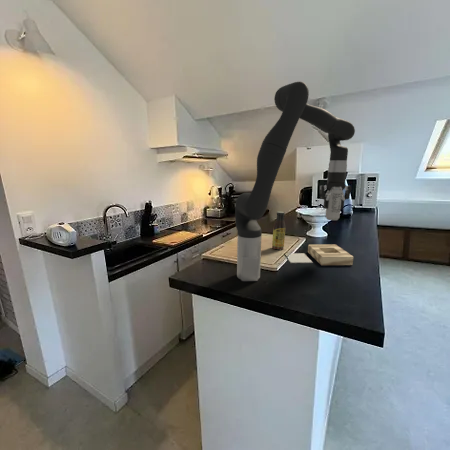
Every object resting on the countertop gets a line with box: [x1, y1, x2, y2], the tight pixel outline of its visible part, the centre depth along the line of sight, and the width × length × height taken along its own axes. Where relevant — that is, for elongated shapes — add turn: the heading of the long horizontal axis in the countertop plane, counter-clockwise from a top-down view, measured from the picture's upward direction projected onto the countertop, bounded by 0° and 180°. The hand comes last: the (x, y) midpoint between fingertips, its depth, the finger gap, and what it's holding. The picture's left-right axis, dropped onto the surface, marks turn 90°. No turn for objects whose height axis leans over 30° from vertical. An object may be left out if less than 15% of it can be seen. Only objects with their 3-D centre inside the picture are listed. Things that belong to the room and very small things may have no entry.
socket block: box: [307, 244, 354, 266], centre depth 124 cm, size 18×14×4 cm
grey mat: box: [287, 252, 314, 264], centre depth 124 cm, size 12×10×1 cm
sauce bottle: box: [271, 211, 286, 250], centre depth 136 cm, size 6×6×20 cm
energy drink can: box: [325, 187, 342, 221], centre depth 118 cm, size 6×6×15 cm
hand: (333, 208), depth 119 cm, fingers closed on energy drink can, 6 cm apart
